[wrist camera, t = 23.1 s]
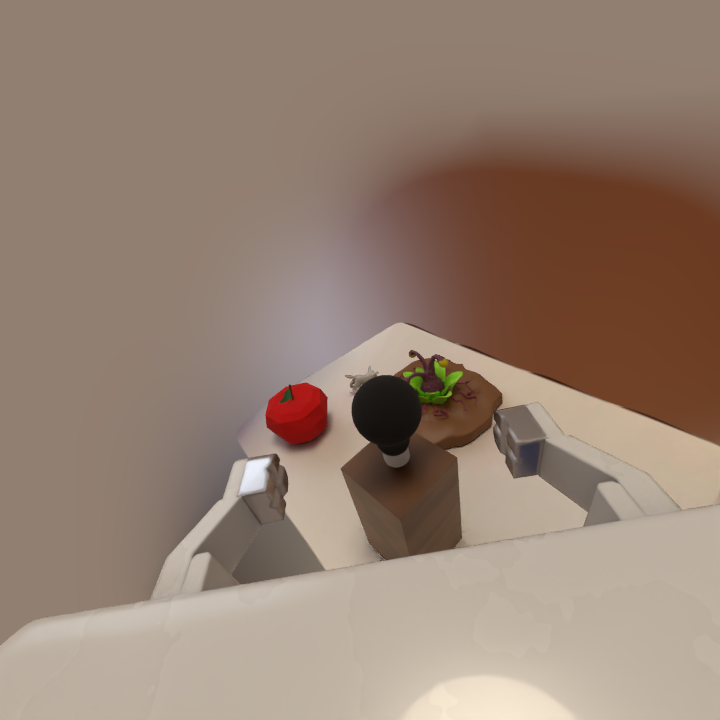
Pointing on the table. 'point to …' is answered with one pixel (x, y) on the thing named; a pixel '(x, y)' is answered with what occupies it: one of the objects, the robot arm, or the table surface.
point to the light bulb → (388, 416)
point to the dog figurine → (361, 379)
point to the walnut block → (407, 499)
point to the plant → (450, 400)
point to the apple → (297, 413)
